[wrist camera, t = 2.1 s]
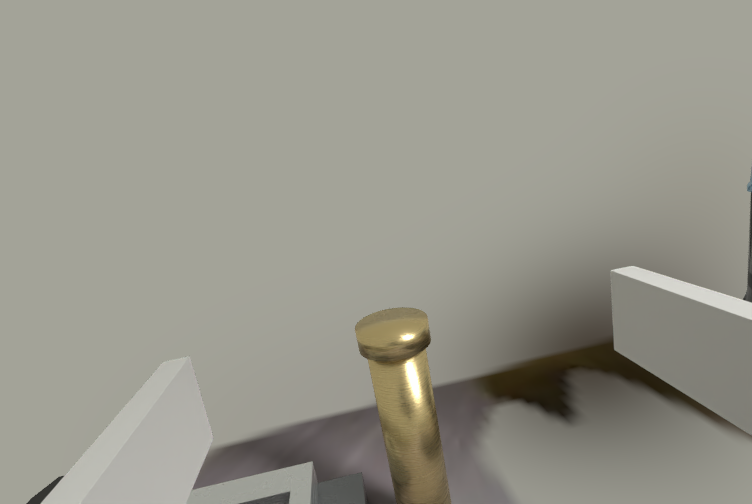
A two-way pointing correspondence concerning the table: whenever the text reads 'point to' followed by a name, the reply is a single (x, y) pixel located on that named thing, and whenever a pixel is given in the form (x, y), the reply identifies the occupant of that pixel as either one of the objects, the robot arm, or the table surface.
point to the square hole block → (284, 489)
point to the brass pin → (405, 402)
